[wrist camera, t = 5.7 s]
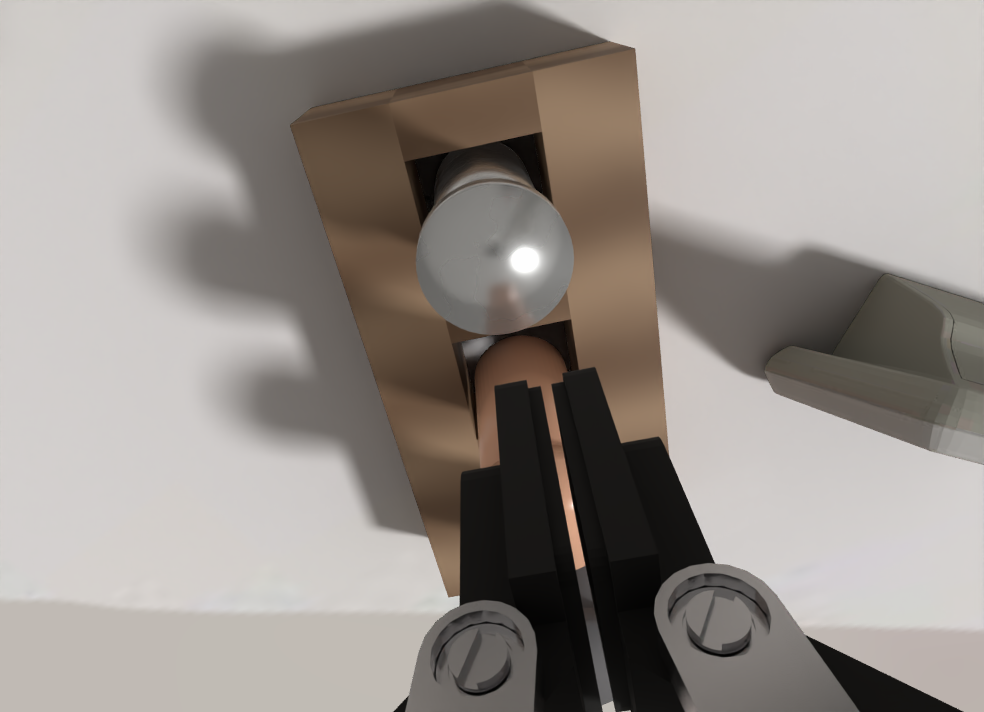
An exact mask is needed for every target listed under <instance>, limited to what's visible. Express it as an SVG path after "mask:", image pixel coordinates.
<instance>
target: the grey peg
mask: <svg viewBox="0 0 984 712" xmlns="http://www.w3.org/2000/svg"><path fill="white" fill-rule="evenodd" d="M573 265H574V251H573V245H572V240H571V237H570V234H569V231H568V229H567V227H566V225H565V223H564V221H563V219H562V217H561V215H560V213H559V212H558V210H557V209H556V208H555V206H554V205H553V204H552V203H551V202H550V201H549V200H548V199H547V198H546V197H545V196H544V195H542V194H541V193H540V192H539V191H537V190H535V188H534V186H533V183H532V181H531V179H530V177H529V174H528V172H527V170H526V168H525V166H524V164H523V162H522V160H521V159H520V158H519V156H518V155H517V154H516V153H515V152H514V151H513V150H512V149H510V148H509V147H507V146H506V145H504V144H502V143H499V142H493V143H488V144H483V145H479V146H474V147H470V148H465V149H460V150H456V151H451V152H450V153H449V154H448V155H447V156H446V157H445V158H444V160H443V161H442V163H441V165H440V167H439V169H438V172H437V175H436V180H435V192H434V205H433V209H432V210H431V211H430V213H429V214H428V216H427V218H426V219H425V221H424V223H423V226H422V228H421V231H420V234H419V239H418V244H417V252H416V271H417V276H418V281H419V284H420V287H421V290H422V292H423V294H424V295H425V297H426V299H427V301H428V302H429V303H430V305H431V306H432V307H433V308H434V310H435V311H436V312H437V313H438V314H439V315H441V316H442V317H443V318H444V319H445V320H447V321H448V322H450V323H452V324H453V325H455V326H457V327H459V328H461V329H464V330H467V331H470V332H474V333H478V334H486V335H501V334H508V333H513V332H516V331H520V330H522V329H525V328H527V327H530V326H531V325H533V324H535V323H537V322H538V321H540V320H541V319H543V318H544V317H545V316H546V315H548V314H549V313H550V312H551V311H552V310H553V309H554V308H555V307H556V305H557V304H558V303H559V302H560V300H561V299H562V297H563V296H564V294H565V292H566V290H567V288H568V286H569V283H570V280H571V277H572V272H573Z"/></svg>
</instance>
